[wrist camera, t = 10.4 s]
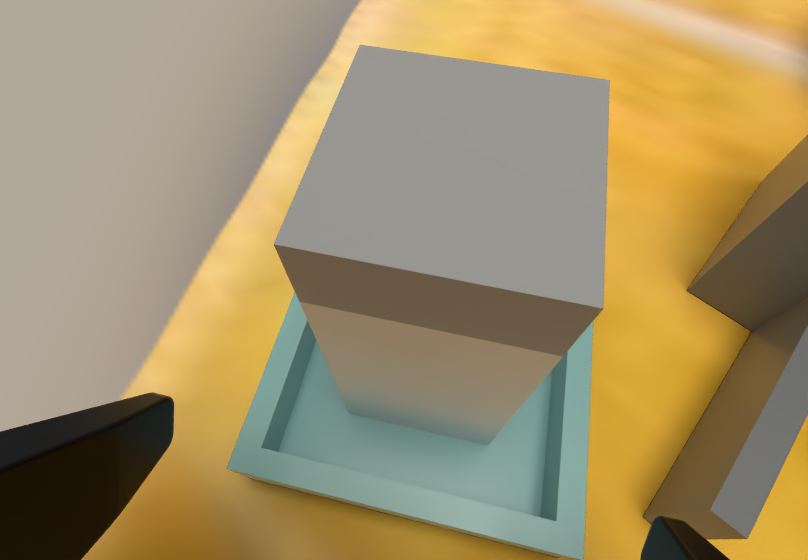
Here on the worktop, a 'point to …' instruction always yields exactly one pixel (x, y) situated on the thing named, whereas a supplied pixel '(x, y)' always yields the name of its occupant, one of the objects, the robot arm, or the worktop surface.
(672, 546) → the robot arm
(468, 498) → the teal tray
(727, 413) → the coffee machine bay
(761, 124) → the worktop surface
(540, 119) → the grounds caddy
